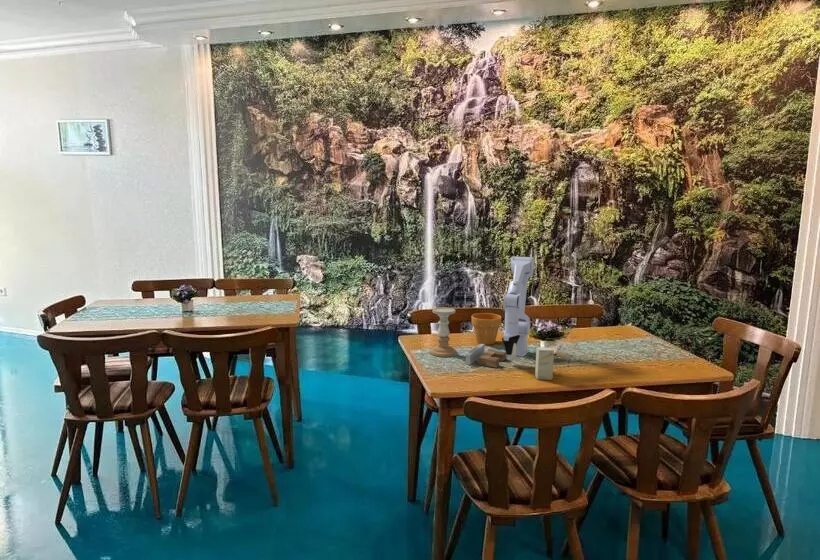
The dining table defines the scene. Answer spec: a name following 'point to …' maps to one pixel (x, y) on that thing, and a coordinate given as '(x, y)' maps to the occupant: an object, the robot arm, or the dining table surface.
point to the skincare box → (544, 363)
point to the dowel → (512, 353)
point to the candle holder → (443, 334)
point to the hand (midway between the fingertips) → (510, 353)
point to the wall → (475, 354)
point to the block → (491, 358)
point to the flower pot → (486, 327)
